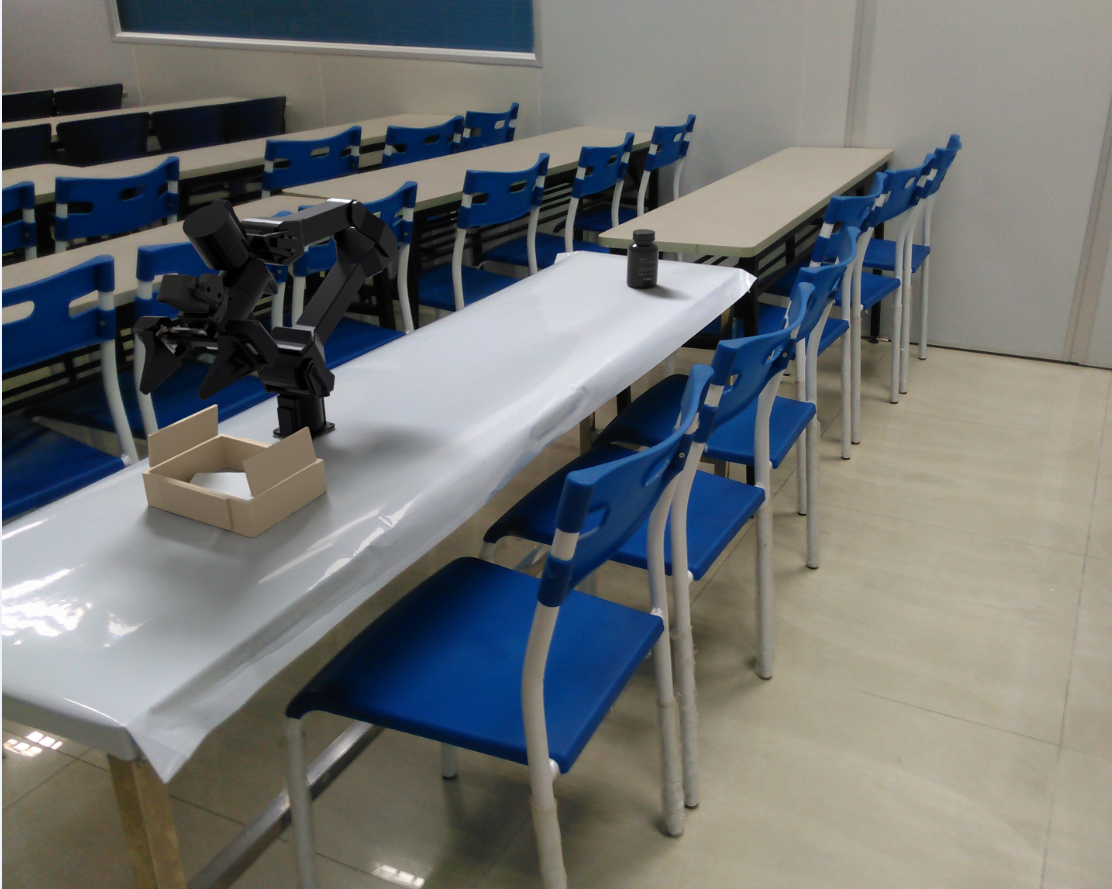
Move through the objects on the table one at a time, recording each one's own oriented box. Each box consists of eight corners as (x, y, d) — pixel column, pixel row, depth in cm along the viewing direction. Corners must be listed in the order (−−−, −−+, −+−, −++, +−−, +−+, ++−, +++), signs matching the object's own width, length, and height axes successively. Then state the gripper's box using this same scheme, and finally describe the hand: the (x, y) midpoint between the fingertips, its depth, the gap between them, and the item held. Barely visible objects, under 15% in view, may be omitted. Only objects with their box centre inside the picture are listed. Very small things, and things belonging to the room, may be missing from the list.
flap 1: (151, 467, 117) (149, 466, 117) (217, 435, 126) (215, 434, 126) (149, 436, 115) (147, 435, 115) (217, 405, 124) (215, 404, 124)
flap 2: (314, 460, 120) (316, 460, 119) (251, 497, 111) (254, 497, 111) (306, 426, 118) (308, 427, 118) (241, 461, 109) (244, 461, 109)
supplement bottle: (621, 282, 215) (623, 228, 209) (649, 280, 216) (652, 227, 211) (633, 290, 209) (635, 235, 204) (661, 288, 210) (664, 233, 205)
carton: (228, 462, 130) (224, 432, 128) (329, 490, 123) (325, 458, 121) (145, 506, 118) (138, 474, 116) (250, 539, 111) (245, 505, 109)
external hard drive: (198, 482, 124) (295, 481, 124) (178, 513, 116) (281, 512, 117) (196, 471, 123) (293, 470, 124) (176, 501, 116) (279, 500, 116)
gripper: (138, 249, 117) (68, 347, 110) (256, 250, 110) (190, 354, 102) (191, 311, 126) (130, 405, 118) (304, 315, 118) (246, 416, 111)
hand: (171, 395), depth 112 cm, fingers open, 9 cm apart
